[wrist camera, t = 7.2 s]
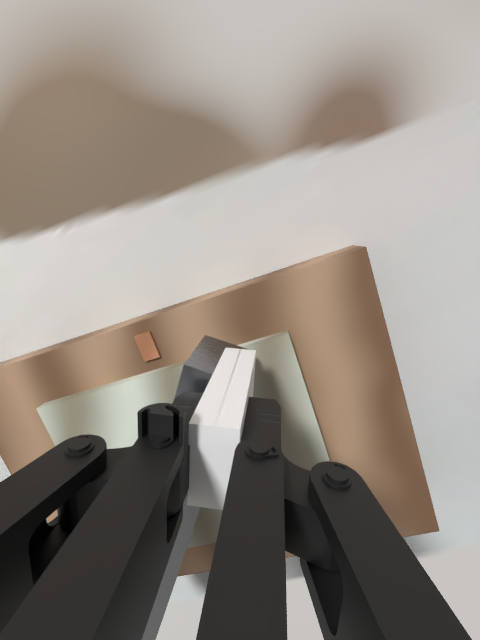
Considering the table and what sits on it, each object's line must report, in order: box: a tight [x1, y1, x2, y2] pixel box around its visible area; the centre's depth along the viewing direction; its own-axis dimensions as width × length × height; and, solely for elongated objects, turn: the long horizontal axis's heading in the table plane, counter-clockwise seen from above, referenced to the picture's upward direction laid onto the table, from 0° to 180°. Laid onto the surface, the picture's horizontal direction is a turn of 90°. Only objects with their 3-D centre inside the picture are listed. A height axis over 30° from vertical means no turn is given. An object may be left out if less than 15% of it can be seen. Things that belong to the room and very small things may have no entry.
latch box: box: [0, 245, 439, 576], centre depth 22 cm, size 26×18×4 cm
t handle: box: [142, 335, 249, 640], centre depth 17 cm, size 17×4×5 cm, turn 163°
